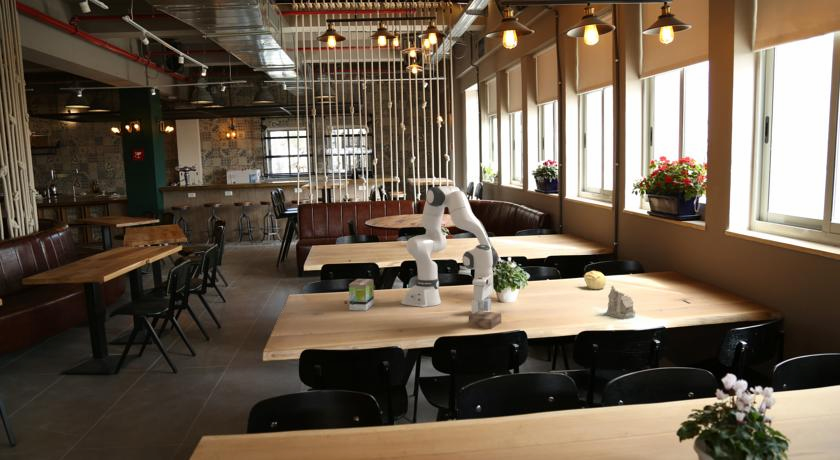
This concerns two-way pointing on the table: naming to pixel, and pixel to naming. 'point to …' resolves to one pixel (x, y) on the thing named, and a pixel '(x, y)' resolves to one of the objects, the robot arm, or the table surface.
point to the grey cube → (487, 305)
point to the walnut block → (485, 319)
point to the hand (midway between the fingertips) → (484, 306)
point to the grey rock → (620, 305)
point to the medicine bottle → (475, 306)
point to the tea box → (361, 294)
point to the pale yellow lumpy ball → (595, 280)
